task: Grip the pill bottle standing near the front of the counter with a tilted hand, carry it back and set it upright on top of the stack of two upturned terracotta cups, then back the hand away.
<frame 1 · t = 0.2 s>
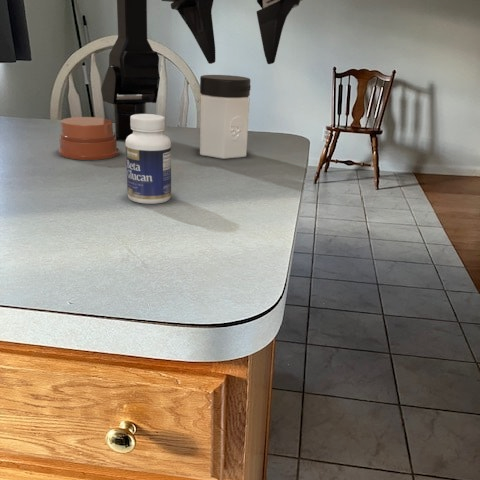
hand: (242, 63, 69), 15 cm above the table, tool pointing down, fingers open, 9 cm apart
cup stack: (89, 153, 88), on the table
jar: (222, 154, 93), on the table
pill bottle: (149, 200, 68), on the table
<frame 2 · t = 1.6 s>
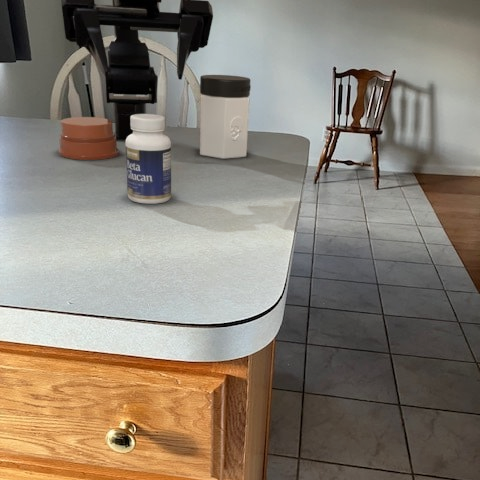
hand: (144, 76, 68), 13 cm above the table, tool tilted 45°, fingers open, 9 cm apart
nothing on the table moved.
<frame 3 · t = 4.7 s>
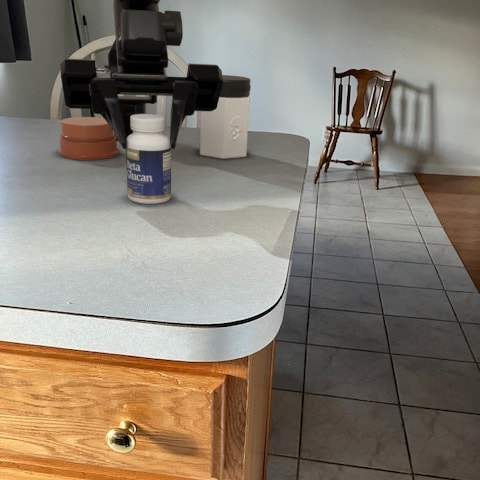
hand: (149, 146, 63), 7 cm above the table, tool tilted 45°, fingers closed on pill bottle, 5 cm apart
pill bottle: (149, 200, 68), on the table, touching gripper
everything else where it was.
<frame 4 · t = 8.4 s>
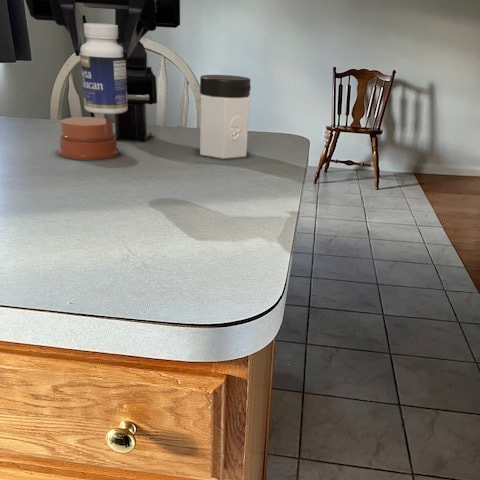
hand: (100, 54, 65), 16 cm above the table, tool tilted 45°, fingers closed on pill bottle, 5 cm apart
pill bottle: (106, 112, 69), point 9 cm above the table, touching gripper
everything else where it was.
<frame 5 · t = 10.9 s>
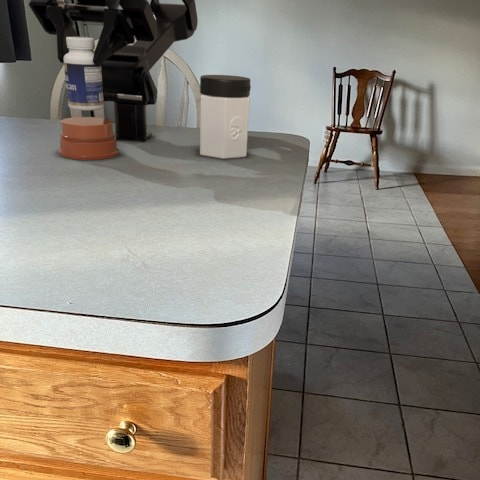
hand: (77, 62, 80), 13 cm above the table, tool tilted 45°, fingers closed on pill bottle, 5 cm apart
pill bottle: (86, 109, 84), point 7 cm above the table, touching gripper
everything else where it was.
when the fingers open (12 cm above the table, at t = 12.4 s): pill bottle stays where it is, resting on cup stack.
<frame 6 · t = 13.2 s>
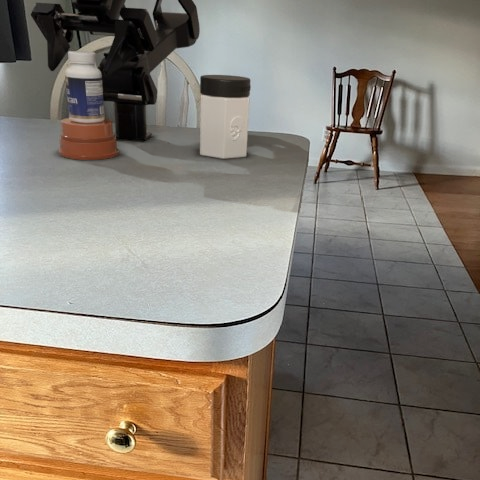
hand: (77, 71, 81), 12 cm above the table, tool tilted 45°, fingers open, 9 cm apart
pill bottle: (87, 122, 86), point 5 cm above the table, touching cup stack
everything else where it was.
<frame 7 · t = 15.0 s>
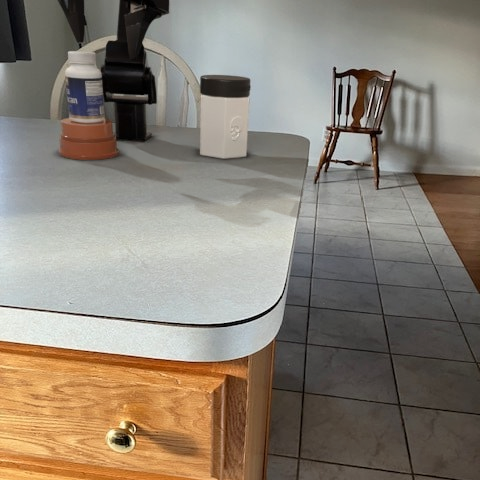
hand: (108, 51, 78), 15 cm above the table, tool tilted 20°, fingers open, 9 cm apart
nothing on the table moved.
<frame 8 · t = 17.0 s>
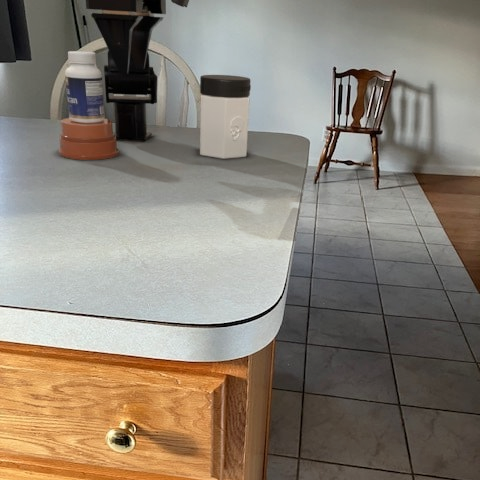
hand: (132, 71, 77), 13 cm above the table, tool pointing down, fingers open, 9 cm apart
nothing on the table moved.
at the end: pill bottle 0.2 cm off-centre on the cup stack, point 4.8 cm above the cup stack's base; pill bottle tilted 0°; the gripper is holding nothing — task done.
